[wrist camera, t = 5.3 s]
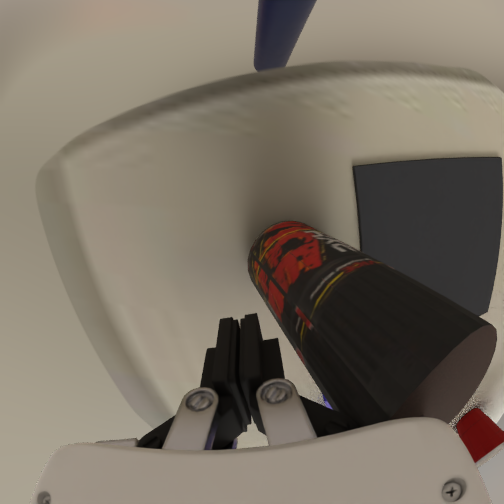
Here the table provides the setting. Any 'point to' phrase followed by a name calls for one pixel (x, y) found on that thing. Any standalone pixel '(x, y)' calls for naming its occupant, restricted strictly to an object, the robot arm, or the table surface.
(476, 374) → the deodorant
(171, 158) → the table surface
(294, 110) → the table surface
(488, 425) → the plastic cup
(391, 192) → the mat
